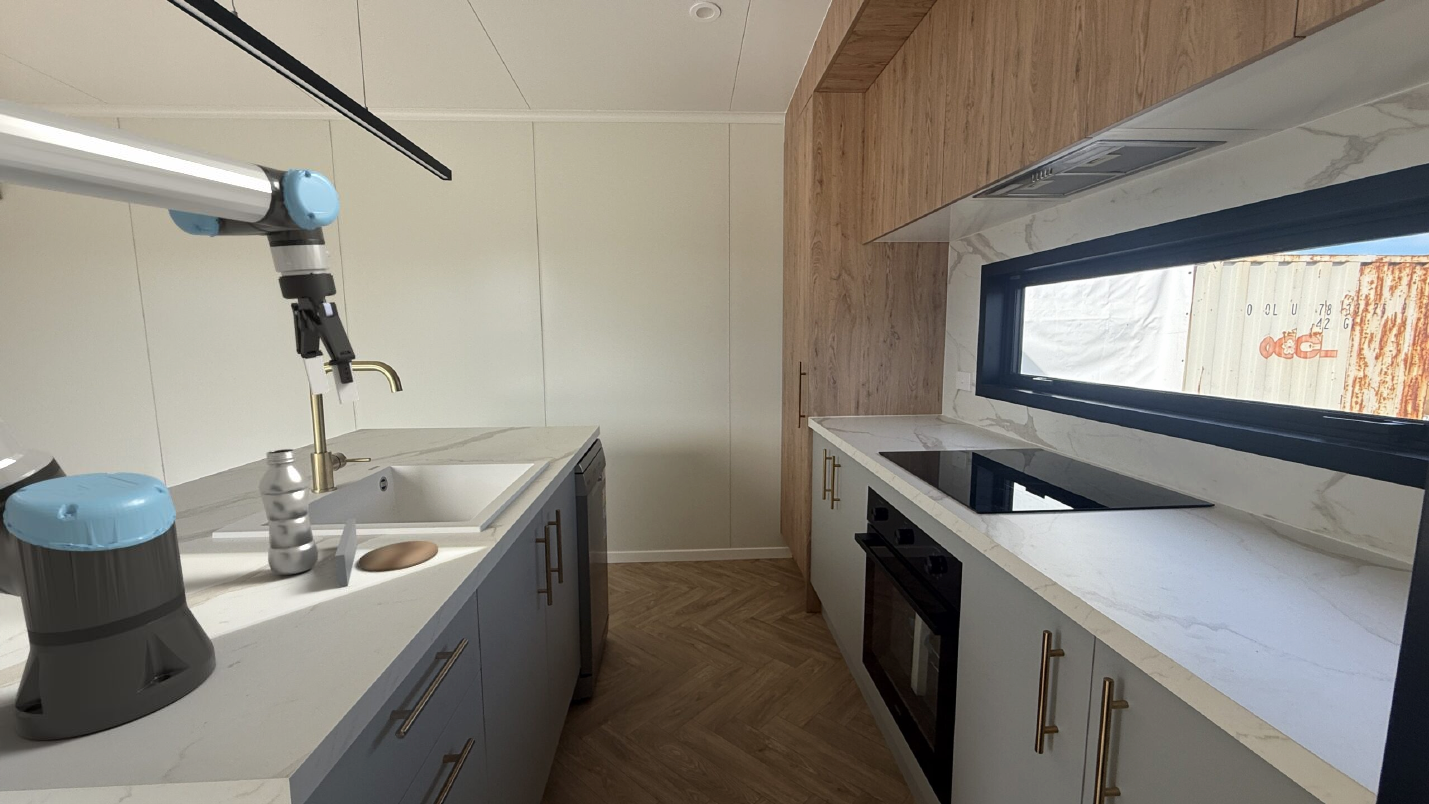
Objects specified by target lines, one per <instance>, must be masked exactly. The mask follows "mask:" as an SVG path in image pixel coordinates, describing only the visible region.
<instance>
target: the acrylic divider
mask: <svg viewBox="0 0 1429 804" xmlns="http://www.w3.org/2000/svg"><path fill="white" fill-rule="evenodd" d="M339 540H340V541H339V543H338V545H337V549H336V552H335V554H334V558H335V559H334V561H335V568H336V569H335V571H336V579H337V587H338V588H344V587H349V583H350V578H351V573H352V570H353V566H354V561H355V557H356V552H357V549H358V535H357V526H356V519H355V517H354V518H353V517H352V518H347V519H346V521H345V525H344V528H343V530H342V534H341V536H340V539H339Z"/></svg>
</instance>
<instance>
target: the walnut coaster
mask: <svg viewBox="0 0 1429 804" xmlns="http://www.w3.org/2000/svg"><path fill="white" fill-rule="evenodd" d="M438 553H439V547H438V545H437V543H435V542H433V541H429V540H428V541H426V540H411V541H409V540H408V541H402V542H396V543H392V544H387V545H383V546H380V547H377V548H374V549H372V550H370V551H368V552H366V553H364V554H363V555H362V556H360V558H359V559H358V567H359V568H360V569H361V570H364V571H366V572H367V571H368V572H390V571H398V570H402V569H408V568H411V567H414V566H417V565H420V564H423V563H425V562H427V561H429V560H431V559H433V558H434V557H435V556H436V555H437V554H438Z"/></svg>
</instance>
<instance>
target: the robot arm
mask: <svg viewBox="0 0 1429 804" xmlns="http://www.w3.org/2000/svg"><path fill="white" fill-rule="evenodd" d="M0 183H3V184H4V183H5V184H11V185H17V186H22V187H29V188H34V189H40V190H48V191H53V192H59V193H66V194H71V195H76V196H77V195H79V196H84V197H91V198H97V199H103V200H110V201H116V202H121V203H122V202H123V203H129V204H133V205H139V206H140V205H141V206H147V207H153V208H160V209H164V210H168V215H169V216H170V218H171V220H172V222H173V223H174V224H175V225H176V226H177V227H178V228H179V229H180V230H181V231H182V232H184V233H187V234H189V235H193V236H209V237H210V238H214V237H223V236H224V237H227V236H229V237H230V236H231V237H233V236H234V237H235V236H236V237H237V236H239V237H240V236H245V237H246V236H247V237H248V236H265V237H267V241H268V245H269V248H270V249H269V250H270V253H271V258H272V261H273V265H274V270H275V272H277V273H280V276H279V277H278V278H277V280H278V283H279V289H280V292H281V296H282V298H283V299H285V300H296V299H297V302H291V303H290V307H291V310H292V315H293V317H292V318H293V325H294V326H293V327H294V337H295V339H294V340H295V347H296V348H295V350H296V353H297V354H298V355H300V356H301V358H302V361H303V364H304V368H305V371H306V376H307V381H308V384H309V388H310V392H311V395H312V396H317V395H321V394H326V393H330V392H331V390H330V386H329V385H330V384H329V381H328V377H327V373H326V367H325V364H324V360H323V357H322V356H324V353H323V351H322V350H321V349H320V341H321V343H322V344H323V347H324V349H325V350H326V351H327V354H328V355H329V356H328V357H329V358H330V359H329V360H328V366H329V367H331V371H332V375H333V379H334V383H335V388H336V393H337V397H338V401H339V404H340V405H344V404H350V403H353V402H358V401H360V397H359V392H358V387H357V383H356V380H355V375H354V371H353V366H352V361H354V360H356V354H355V351H354V349H353V347H352V345H351V342H350V340H349V337H348V334H347V332H346V329H345V327H344V324H343V323H342V320H341V318H340V315H339V311H338V308H337V304H336V303H335V302H333V301H331V302H327V300H326V298H327V297H331V296H335V295H336V294H337V288H336V285H335V284H336V283H335V279H334V274H332V273H331V272H330V273H329V272H328V270H330V269H331V264H330V259H329V258H330V257H331V256H332V252H330V251H328V250H327V247H326V246H327V245H326V241H325V237H324V236H325V235H324V233H323V227H326V226H329V225H331V224H333V223H334V222H335V221H336V220H337V218H338V216H339V214H340V205H341V204H340V200H339V199H340V198H339V195H338V192H337V190H336V188H335V186H334V185H333V183H331V181H330V180H329V179H328V178H327V177H326V176H324V175H323V174H321V173H320V172H318V171H315V170H311V169H298V168H291V169H289V170H280V169H276V168H273V167H268V166H266V165H264V166H263V165H260V164H256V163H251V162H247V161H245V160H239V159H236V158H232V157H228V156H224V155H221V154H217V153H213V152H209V151H205V150H200V149H197V148H193V147H191V146H190V147H189V146H185V145H182V144H178V143H174V142H171V141H170V142H169V141H166V140H162V139H159V138H155V137H151V136H148V135H144V134H139V133H136V132H132V131H128V130H124V129H121V128H116V127H112V126H109V125H106V124H105V125H104V124H101V123H97V122H94V121H90V120H87V119H82V118H78V117H75V116H71V115H67V114H62V113H59V112H55V111H52V110H47V109H44V108H43V109H42V108H40V107H36V106H31V105H29V104H24V103H20V102H16V101H13V100H9V99H5V98H1V97H0ZM176 518H177V511H176V508H175V505H174V502H173V500H172V497H171V493H170V490H169V488H168V486H167V484H166V483H165V482H164V481H162V480H160V479H159V478H157V477H155V476H151V475H147V474H141V473H135V472H133V473H132V472H115V473H107V472H97V473H95V472H94V473H93V472H92V473H84V474H72V475H68V474H66V473H65V471H64V470H63V468H62V467H61V465H60V464H59V462H57V460H56V459H55V456H53V455H52V453H51V452H49V451H46V450H45V451H44V450H39V449H35V448H31V447H27V446H26V447H25V446H24V445H22V444H21V443H20V442H19V440H18V439H17V437H16V436H15V435H14V433H13V432H12V431H11V429H10V428H9V426H8V425H7V424H6V422H5V421H4V419H3V418H2V417H1V416H0V594H4V595H9V596H10V595H11V596H15V597H20V600H21V604H22V611H23V617H24V621H25V622H24V623H25V627H26V632H27V636H28V643H29V651H28V656H27V658H26V662H25V665H24V668H23V673H22V676H21V679H20V682H19V685H18V689H17V693H16V695H15V699H14V703H13V708H12V713H13V718H14V719H13V720H14V723H15V725H14V726H15V729H16V733H17V734H18V735H19V736H20V737H23V738H25V739H29V740H37V741H45V740H46V741H48V740H51V741H52V740H59V739H67V738H73V737H77V736H78V737H79V736H83V735H87V734H91V733H95V732H99V731H103V730H106V729H110V728H113V727H116V726H119V725H121V724H124V723H127V722H130V721H133V720H135V719H138V718H141V717H143V716H145V715H148V714H151V713H153V712H155V711H157V710H160V709H162V708H164V707H165V706H167V705H170V704H171V703H173V702H175V701H177V700H179V699H181V698H182V697H184V696H186V695H188V694H189V693H190V692H192V691H193V690H195V689H196V688H198V687H200V685H202V684H203V683H204V682H205V681H206V680H207V679H209V677H210V676H211V675H212V674H213V672H214V671H215V669H216V666H217V660H216V653H215V647H214V644H213V642H212V640H211V638H210V637H209V635H208V633H206V631H205V630H204V629H203V627H202V625H201V624H200V622H199V621H198V620H197V618H196V617H195V615H194V614H193V612H192V611H191V609H190V607H189V606H188V604H187V603H188V602H187V596H186V590H185V582H184V581H185V580H184V575H183V567H182V560H181V554H180V548H179V547H180V546H179V545H180V544H179V539H178V533H177V532H178V531H177V525H176Z"/></svg>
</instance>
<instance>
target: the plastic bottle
mask: <svg viewBox="0 0 1429 804" xmlns="http://www.w3.org/2000/svg"><path fill="white" fill-rule="evenodd" d="M296 456H297V455H296V450H295V449H293V448H282V449H275V450H270V451H268V452H266V463H265V464H266V465H267V466H268V468H267V470H266V471H265V473H264V474H263V475H262V477H261V478H260V480H259V484H258V490H259V494H260V497H261V501H262V504H263V506H264V511H265V514H266V518H267V524H268V540H269V541H268V543H269V545H268V546H269V547H268V553H267V554H268V556H267V563H268V565H269V566H268V567H269V569H270V570H271V572H273V573H274V574H276V575H279V576H288V575H293V574H294V575H296V574H298V573H302V572H306V571H309V570H310V569H313V567H315V566H316V564H317V563H318V560H319V559H318V558H319V550H318V549H319V548H318V547H317V543H316V540H315V539H314V534H313V531H312V526H311V521H310V515H309V512H310V510H309V509H310V507H309V498H310V497H309V495H310V493H309V492H310V487H309V486H310V480H309V478H308V476H307V475H306V473H305V472H304V471H303V470H302V469H301V468H300V467H298V466H297V464H296V462H297V460H298V457H296Z"/></svg>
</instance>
